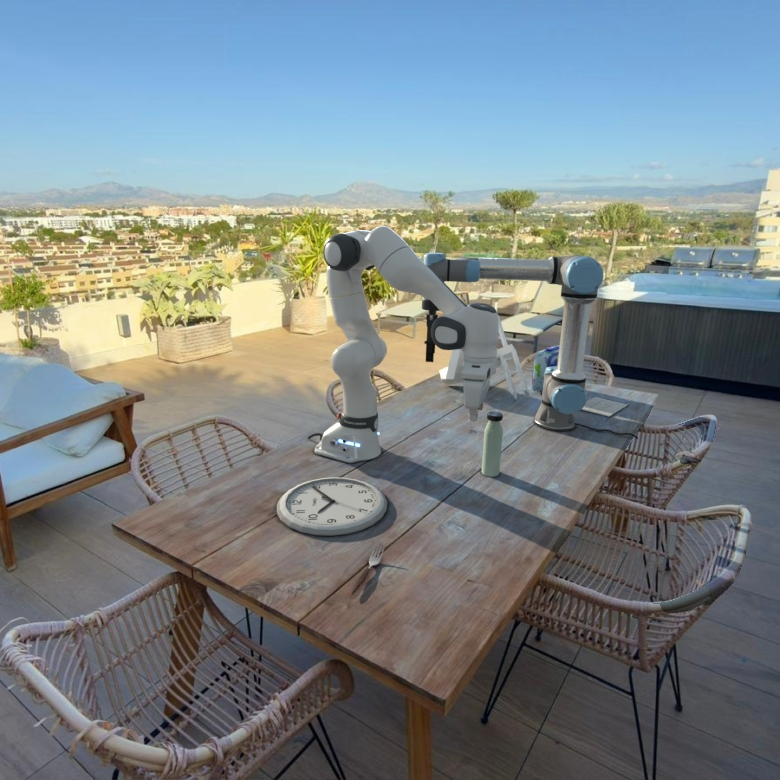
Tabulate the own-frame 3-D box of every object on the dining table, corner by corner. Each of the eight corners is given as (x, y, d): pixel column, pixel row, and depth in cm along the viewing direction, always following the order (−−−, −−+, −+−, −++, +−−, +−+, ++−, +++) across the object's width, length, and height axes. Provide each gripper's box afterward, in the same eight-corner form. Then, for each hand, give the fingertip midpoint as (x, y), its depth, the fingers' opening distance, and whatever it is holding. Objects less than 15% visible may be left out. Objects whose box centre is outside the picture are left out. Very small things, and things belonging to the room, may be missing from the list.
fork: (346, 594, 108) (346, 586, 107) (374, 552, 122) (374, 544, 122) (357, 598, 107) (357, 589, 107) (385, 554, 121) (385, 547, 121)
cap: (499, 422, 155) (500, 417, 155) (485, 419, 157) (485, 414, 157) (504, 417, 159) (504, 412, 159) (489, 415, 161) (490, 410, 161)
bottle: (496, 478, 160) (501, 419, 154) (479, 474, 162) (483, 416, 157) (501, 471, 165) (506, 413, 159) (484, 467, 167) (489, 410, 161)
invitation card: (608, 416, 214) (573, 407, 224) (608, 416, 214) (573, 408, 224) (628, 404, 229) (594, 396, 238) (628, 405, 229) (594, 397, 238)
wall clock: (392, 527, 129) (268, 531, 127) (391, 533, 130) (269, 537, 127) (383, 473, 158) (282, 475, 155) (383, 478, 158) (282, 480, 156)
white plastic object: (461, 429, 252) (437, 405, 227) (444, 352, 274) (420, 323, 250) (535, 404, 240) (518, 377, 215) (510, 326, 262) (492, 293, 237)
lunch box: (548, 398, 236) (553, 353, 229) (527, 393, 243) (531, 349, 237) (575, 387, 253) (581, 344, 247) (555, 382, 260) (560, 341, 254)
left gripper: (474, 356, 149) (472, 402, 153) (460, 373, 131) (457, 425, 135) (496, 357, 147) (493, 404, 151) (485, 376, 129) (482, 428, 133)
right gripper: (424, 293, 195) (422, 349, 202) (419, 302, 172) (417, 365, 178) (444, 294, 195) (441, 350, 201) (442, 303, 171) (439, 366, 177)
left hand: (476, 414), depth 143 cm, fingers open, 8 cm apart
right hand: (430, 357), depth 190 cm, fingers open, 13 cm apart
